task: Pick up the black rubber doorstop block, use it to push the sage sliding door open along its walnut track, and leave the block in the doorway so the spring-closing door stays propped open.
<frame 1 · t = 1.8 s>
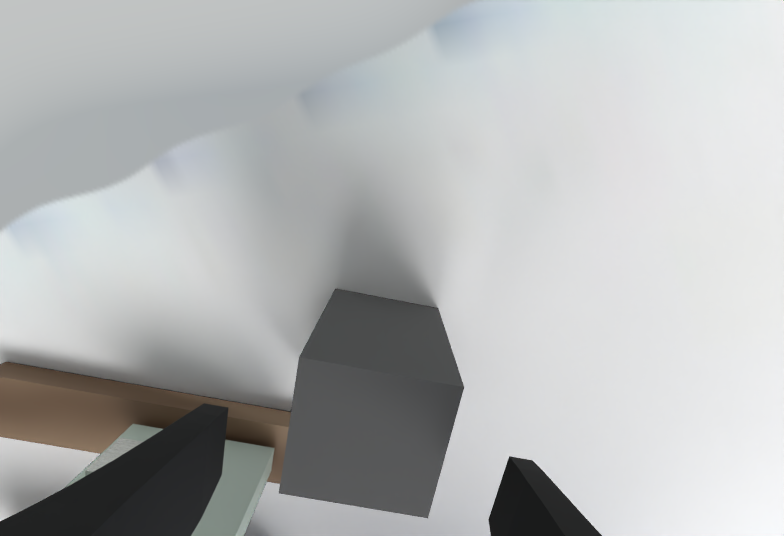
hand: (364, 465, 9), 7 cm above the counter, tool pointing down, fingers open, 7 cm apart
door frame: (212, 426, 17), on the counter
door: (172, 485, 13), point 4 cm above the counter, slide at 0.0 cm
doorstop block: (377, 345, 16), on the counter
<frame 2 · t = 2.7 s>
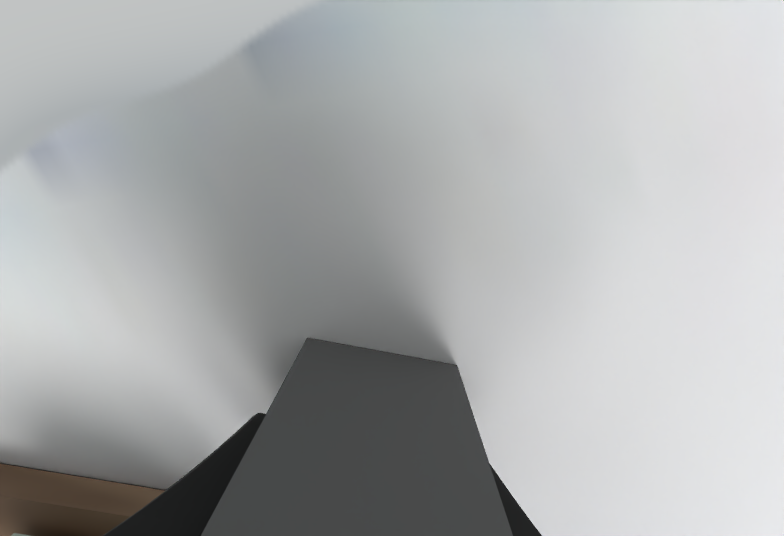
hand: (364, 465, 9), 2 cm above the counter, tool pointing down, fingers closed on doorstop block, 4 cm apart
door frame: (139, 523, 12), on the counter
doorstop block: (369, 416, 11), on the counter, touching gripper
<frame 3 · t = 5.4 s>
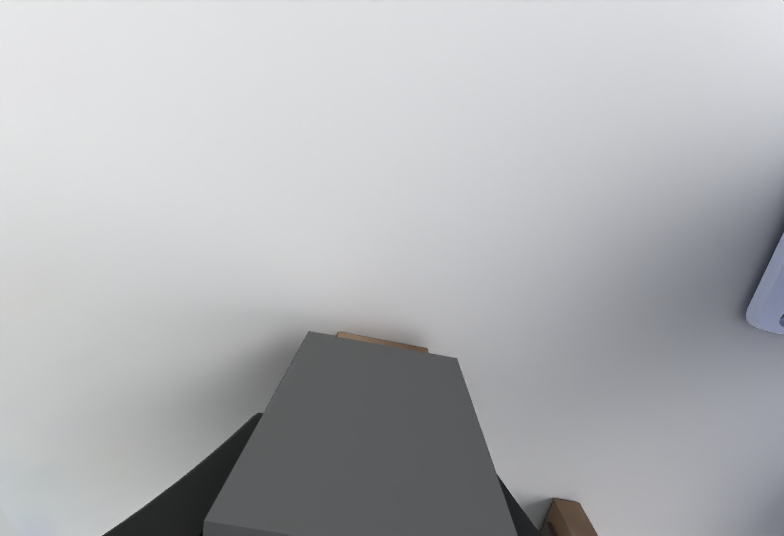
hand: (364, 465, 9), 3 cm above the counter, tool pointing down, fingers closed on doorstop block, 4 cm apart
doorstop block: (370, 409, 11), point 1 cm above the counter, touching gripper
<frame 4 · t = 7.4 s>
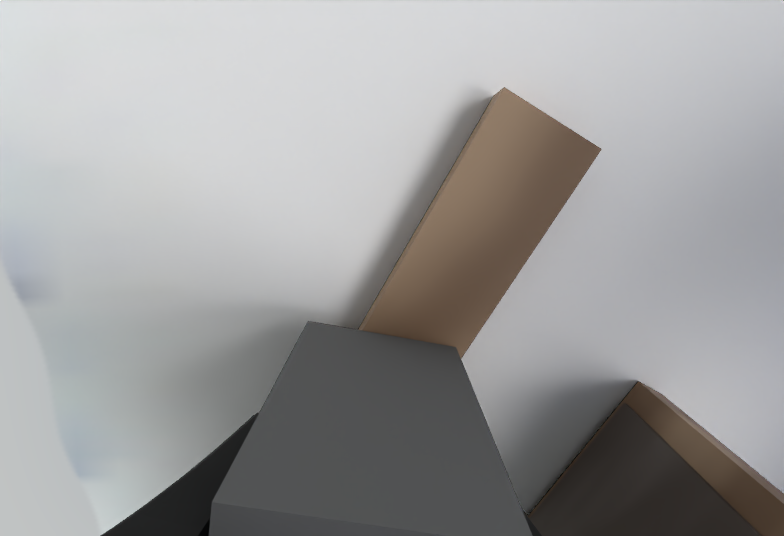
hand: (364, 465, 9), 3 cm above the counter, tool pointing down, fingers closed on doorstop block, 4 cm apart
door frame: (379, 381, 12), on the counter
doorstop block: (369, 399, 11), point 1 cm above the counter, touching door, gripper
when the fingers open (3 cm above the counter, at t = 8.8 s): doorstop block stays where it is, resting on door, door frame.
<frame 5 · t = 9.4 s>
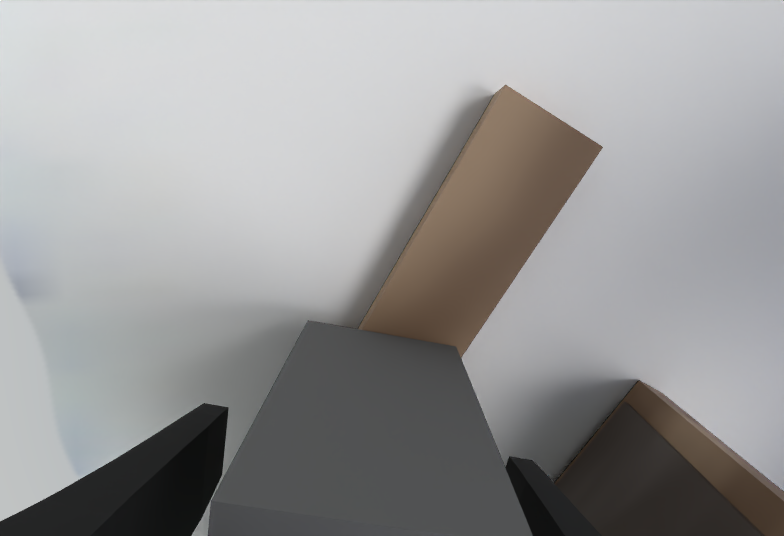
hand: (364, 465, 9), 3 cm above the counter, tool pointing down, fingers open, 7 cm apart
door frame: (379, 379, 12), on the counter
doorstop block: (369, 398, 11), point 1 cm above the counter, touching door, door frame
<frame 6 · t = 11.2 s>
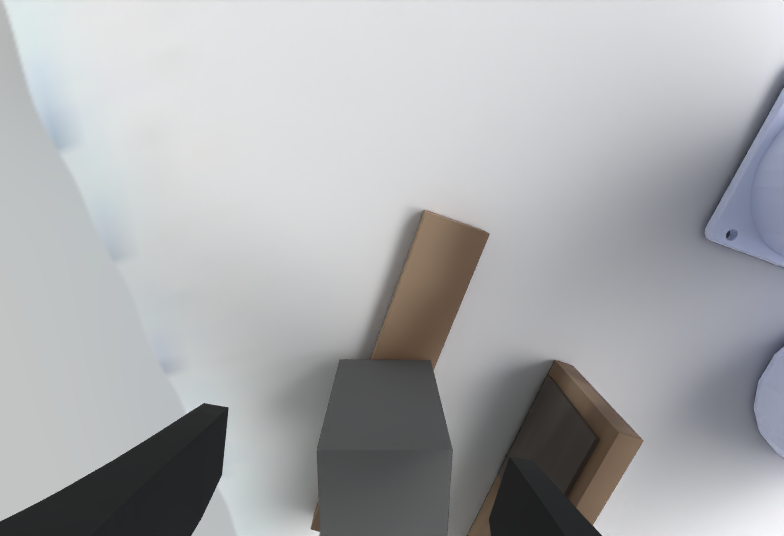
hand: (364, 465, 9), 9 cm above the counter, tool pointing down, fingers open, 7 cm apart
door frame: (390, 386, 19), on the counter
doorstop block: (384, 399, 18), point 1 cm above the counter, touching door, door frame
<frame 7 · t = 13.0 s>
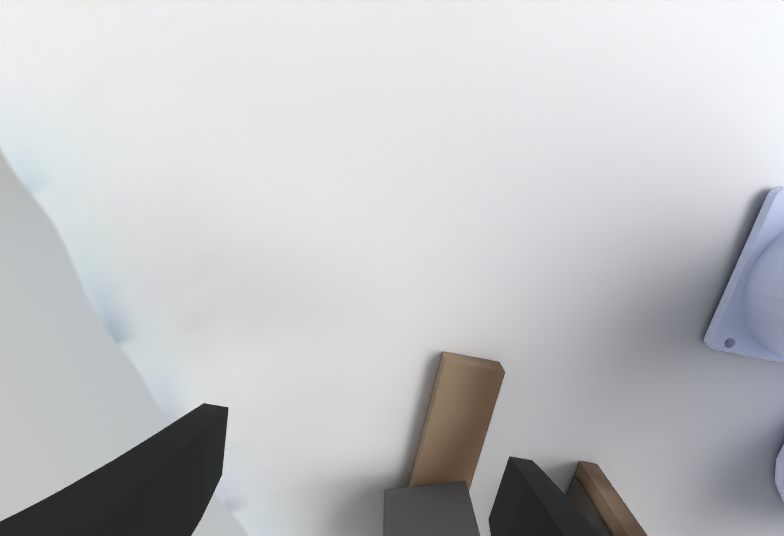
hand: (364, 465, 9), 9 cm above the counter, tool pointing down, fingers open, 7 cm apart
door frame: (431, 500, 21), on the counter
doorstop block: (428, 518, 20), point 1 cm above the counter, touching door, door frame
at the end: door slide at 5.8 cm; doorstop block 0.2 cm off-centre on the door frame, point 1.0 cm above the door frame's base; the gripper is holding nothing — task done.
